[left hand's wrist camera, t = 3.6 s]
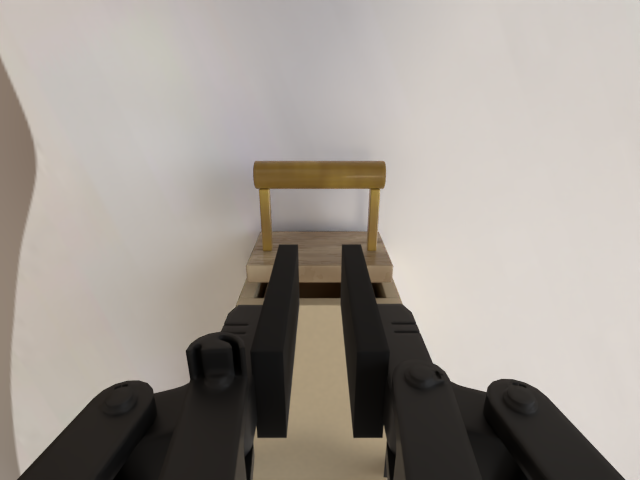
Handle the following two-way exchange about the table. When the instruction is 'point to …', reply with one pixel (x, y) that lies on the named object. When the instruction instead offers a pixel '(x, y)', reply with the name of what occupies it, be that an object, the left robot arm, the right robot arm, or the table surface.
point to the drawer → (319, 247)
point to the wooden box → (319, 401)
